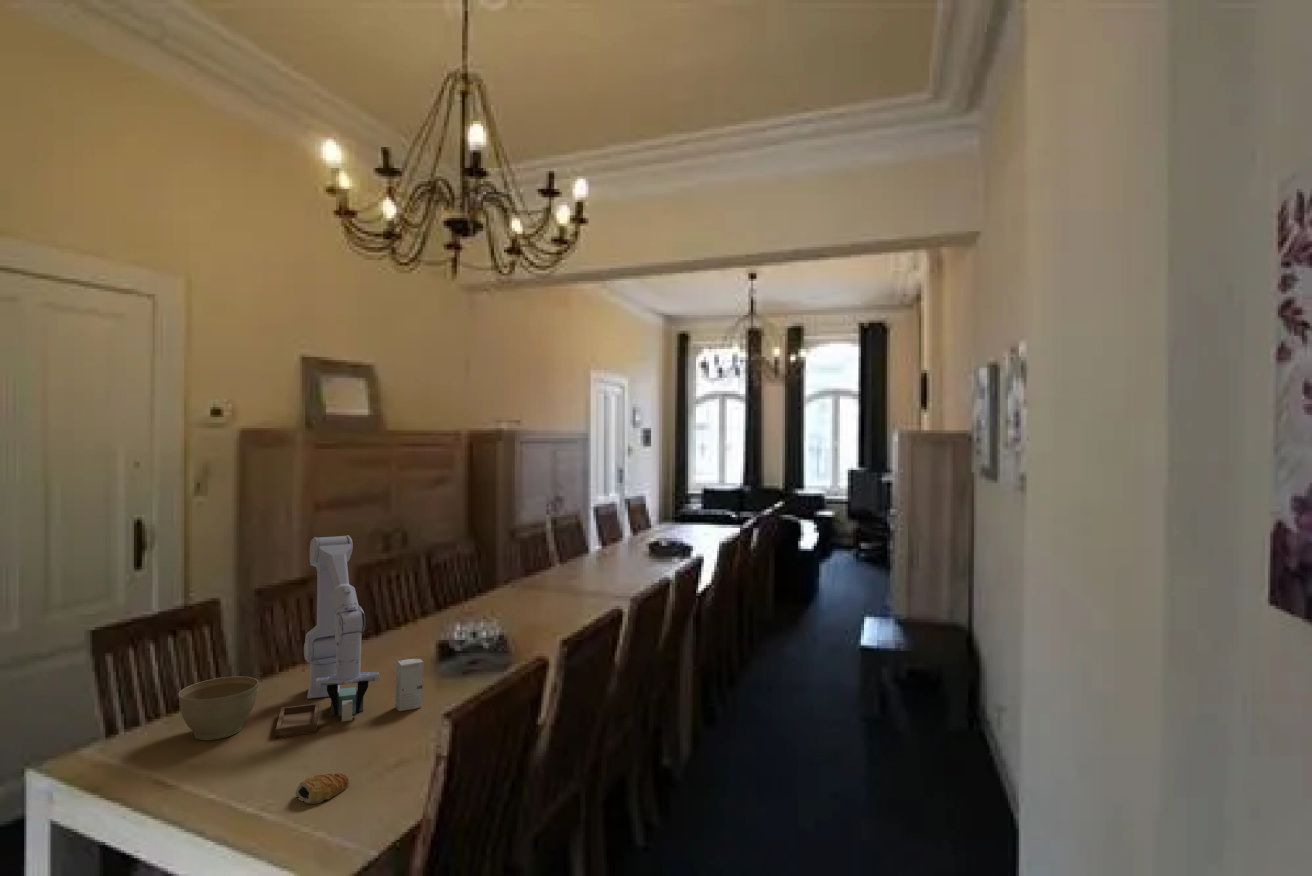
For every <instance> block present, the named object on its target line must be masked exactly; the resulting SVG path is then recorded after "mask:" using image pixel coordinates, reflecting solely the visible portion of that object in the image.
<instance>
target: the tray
mask: <svg viewBox="0 0 1312 876" xmlns="http://www.w3.org/2000/svg"><path fill="white" fill-rule="evenodd" d="M319 714H320V703H319V702H317V703H310V704H301V705H300V704H299V705H293V706H285V707H284V706H282V707H281V708H280V711H279V715H278V719H277V723H276V727H275V736H274V738H275V739H279V738H278V737H280V738H285V737H284V736H287V737H293V736H300V735H309V734H316V733H317V731H318V730H317V729H318V720H319Z"/></svg>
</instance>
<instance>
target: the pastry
mask: <svg viewBox="0 0 1312 876" xmlns="http://www.w3.org/2000/svg"><path fill="white" fill-rule="evenodd" d="M349 784H350V782H349V777H348V776H346V774H344V773H339V772H337V773H334V774H333V773H326V774H316V775H314V776H313V777H308V778H306V779H305V780H304V781H300V783H299V785H298V786H297V788H296V791H295V796H296V798H297V797H299V798H297V800H298V799H299V800H298V801H300V800H301V802H303V801H304V803H306V804H309V805H316V804H320V803H323V801H325V800H330V799H333V798H334V797H336V796H337V794H338V795H339V794H341V793H342V792H344V791H345V790H346V789H347V788H348V787H349ZM340 792H341V793H340ZM333 796H334V797H333ZM332 797H333V798H332Z"/></svg>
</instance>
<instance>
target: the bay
mask: <svg viewBox="0 0 1312 876" xmlns="http://www.w3.org/2000/svg"><path fill="white" fill-rule="evenodd" d="M357 690H358V689H356V704H357ZM330 701H331V700H330ZM338 706H339V692H338ZM359 711H361V712H364V698H363V699H362V702H361V705H360V709H359ZM330 716H336V715H335V711H334V707H333V704H332V701H331V702H330Z"/></svg>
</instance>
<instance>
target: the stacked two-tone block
mask: <svg viewBox="0 0 1312 876" xmlns="http://www.w3.org/2000/svg"><path fill="white" fill-rule="evenodd" d="M356 690H357V686H352V687H343V688H340V689H339V707H338V715H337V716H338V717H341V722H349V721H353V715H355V714H357V713H356ZM341 715H342V716H341Z"/></svg>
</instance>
